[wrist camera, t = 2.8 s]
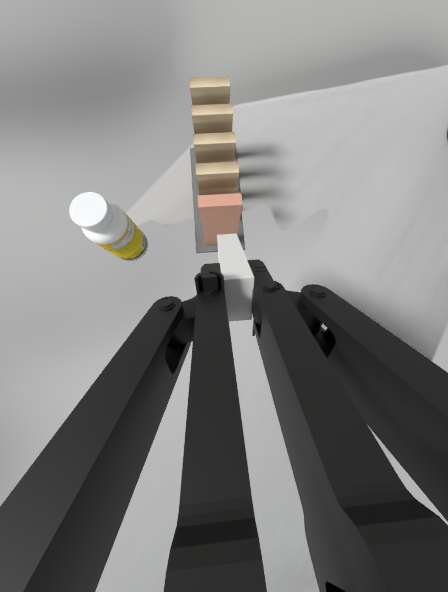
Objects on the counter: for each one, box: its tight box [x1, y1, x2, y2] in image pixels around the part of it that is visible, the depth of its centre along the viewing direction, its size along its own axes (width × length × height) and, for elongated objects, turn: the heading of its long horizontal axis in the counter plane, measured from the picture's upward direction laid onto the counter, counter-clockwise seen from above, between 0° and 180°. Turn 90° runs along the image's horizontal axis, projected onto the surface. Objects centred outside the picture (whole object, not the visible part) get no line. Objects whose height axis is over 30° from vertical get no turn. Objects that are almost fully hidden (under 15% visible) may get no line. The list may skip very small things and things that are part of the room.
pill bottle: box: [69, 192, 148, 261], centre depth 27 cm, size 6×6×11 cm
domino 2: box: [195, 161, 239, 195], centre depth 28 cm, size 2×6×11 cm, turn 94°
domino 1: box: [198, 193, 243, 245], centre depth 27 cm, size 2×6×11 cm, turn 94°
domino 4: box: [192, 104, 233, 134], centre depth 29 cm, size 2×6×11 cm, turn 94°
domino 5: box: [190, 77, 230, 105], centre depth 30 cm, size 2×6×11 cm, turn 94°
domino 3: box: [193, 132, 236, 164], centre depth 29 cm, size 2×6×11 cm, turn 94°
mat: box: [190, 148, 245, 253], centre depth 34 cm, size 22×9×1 cm, turn 5°
